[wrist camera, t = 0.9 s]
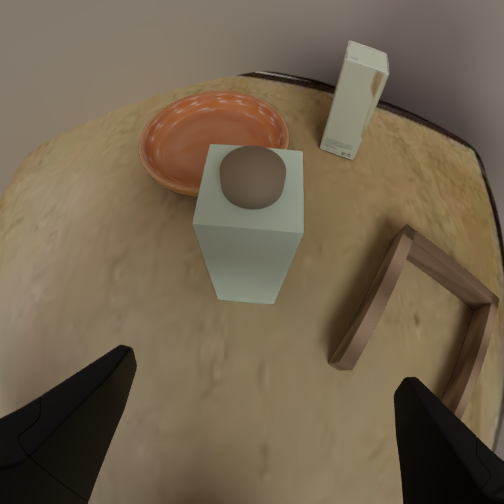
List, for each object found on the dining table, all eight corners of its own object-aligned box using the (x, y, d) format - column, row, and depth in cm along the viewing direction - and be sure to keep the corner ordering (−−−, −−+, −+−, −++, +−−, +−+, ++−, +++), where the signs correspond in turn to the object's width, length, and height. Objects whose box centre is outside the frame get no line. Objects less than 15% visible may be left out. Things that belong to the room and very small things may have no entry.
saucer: (235, 93, 35) (235, 76, 32) (315, 164, 30) (320, 146, 27) (127, 143, 31) (120, 126, 28) (185, 238, 26) (179, 222, 23)
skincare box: (353, 162, 30) (390, 76, 19) (317, 149, 31) (343, 59, 19) (359, 129, 33) (388, 52, 21) (327, 118, 33) (349, 38, 22)
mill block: (273, 304, 24) (308, 221, 11) (218, 299, 24) (188, 211, 11) (276, 253, 25) (305, 137, 13) (224, 249, 25) (208, 130, 13)
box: (437, 425, 19) (456, 428, 16) (327, 363, 22) (339, 362, 19) (482, 306, 24) (499, 298, 21) (392, 238, 26) (406, 224, 24)
